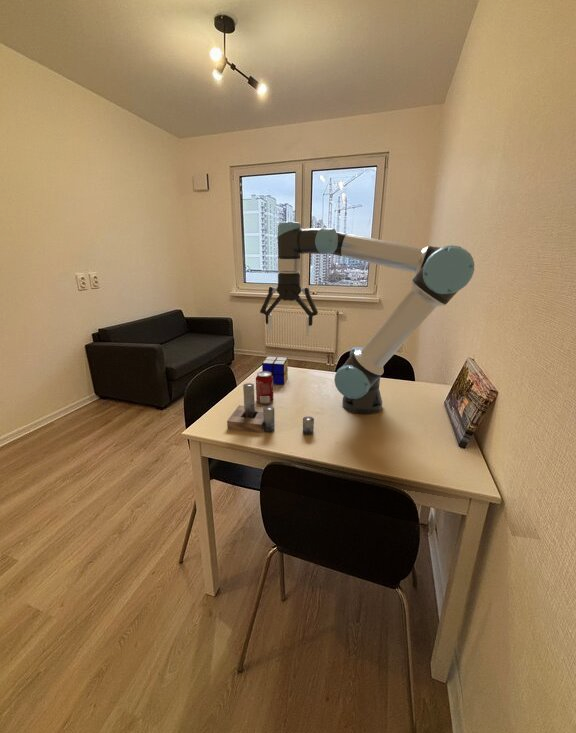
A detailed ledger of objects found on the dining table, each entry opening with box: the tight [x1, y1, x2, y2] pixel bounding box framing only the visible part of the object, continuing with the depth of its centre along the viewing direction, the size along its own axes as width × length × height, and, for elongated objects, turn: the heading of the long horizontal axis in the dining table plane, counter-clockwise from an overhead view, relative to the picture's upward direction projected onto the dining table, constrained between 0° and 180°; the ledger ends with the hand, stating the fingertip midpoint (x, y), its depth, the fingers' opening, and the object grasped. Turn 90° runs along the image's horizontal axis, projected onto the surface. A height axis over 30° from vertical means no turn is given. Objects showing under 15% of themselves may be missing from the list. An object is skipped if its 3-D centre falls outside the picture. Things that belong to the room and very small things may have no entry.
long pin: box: [242, 382, 256, 418], centre depth 111 cm, size 4×4×14 cm
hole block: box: [226, 404, 264, 433], centre depth 113 cm, size 12×12×3 cm
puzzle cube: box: [261, 356, 289, 386], centre depth 149 cm, size 10×10×10 cm
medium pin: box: [263, 405, 276, 434], centre depth 107 cm, size 4×4×8 cm
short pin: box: [302, 416, 315, 436], centre depth 106 cm, size 4×4×5 cm
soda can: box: [255, 371, 274, 405], centre depth 127 cm, size 7×7×12 cm
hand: (288, 333), depth 116 cm, fingers open, 13 cm apart
